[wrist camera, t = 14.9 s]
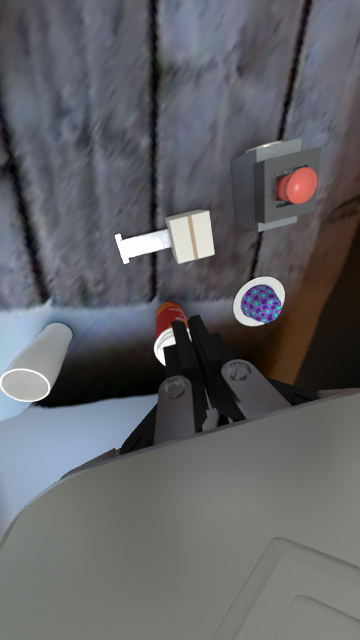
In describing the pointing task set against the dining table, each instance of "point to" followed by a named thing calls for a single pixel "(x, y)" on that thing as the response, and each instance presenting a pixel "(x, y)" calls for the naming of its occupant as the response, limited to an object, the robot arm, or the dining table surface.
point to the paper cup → (167, 326)
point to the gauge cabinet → (269, 184)
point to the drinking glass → (37, 365)
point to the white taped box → (190, 235)
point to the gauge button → (296, 186)
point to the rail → (143, 243)
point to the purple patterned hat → (259, 301)
